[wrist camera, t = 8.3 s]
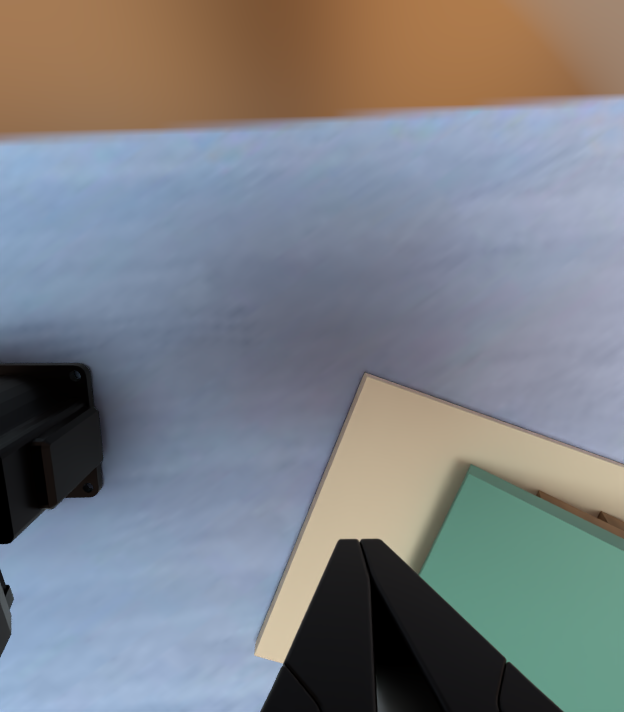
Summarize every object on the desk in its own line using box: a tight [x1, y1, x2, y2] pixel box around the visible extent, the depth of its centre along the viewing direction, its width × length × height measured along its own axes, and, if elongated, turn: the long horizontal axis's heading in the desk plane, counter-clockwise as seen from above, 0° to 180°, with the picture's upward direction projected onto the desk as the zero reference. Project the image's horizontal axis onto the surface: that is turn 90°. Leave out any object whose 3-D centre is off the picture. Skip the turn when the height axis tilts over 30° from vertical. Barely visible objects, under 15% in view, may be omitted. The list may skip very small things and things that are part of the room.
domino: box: [418, 464, 624, 712], centre depth 19 cm, size 2×11×11 cm
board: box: [254, 373, 624, 663], centre depth 22 cm, size 24×16×1 cm, turn 70°
